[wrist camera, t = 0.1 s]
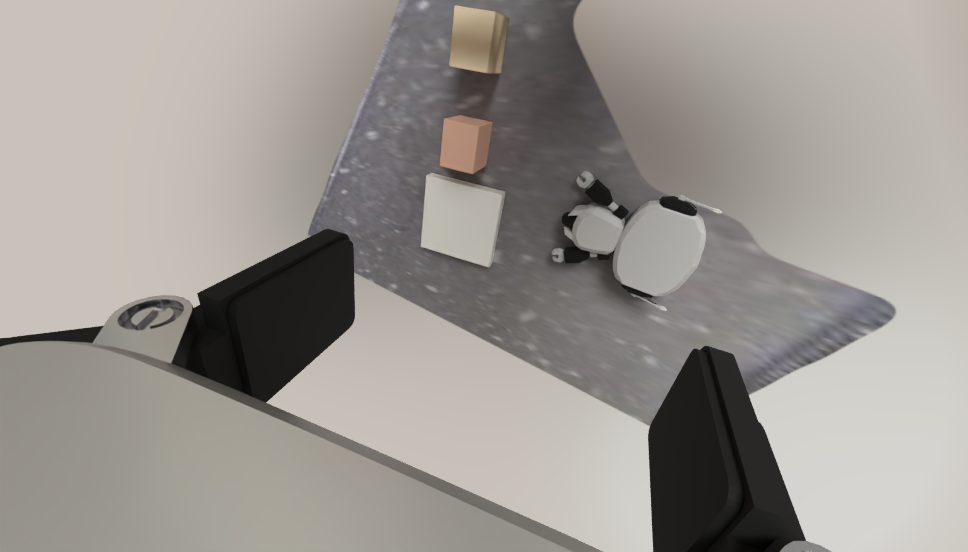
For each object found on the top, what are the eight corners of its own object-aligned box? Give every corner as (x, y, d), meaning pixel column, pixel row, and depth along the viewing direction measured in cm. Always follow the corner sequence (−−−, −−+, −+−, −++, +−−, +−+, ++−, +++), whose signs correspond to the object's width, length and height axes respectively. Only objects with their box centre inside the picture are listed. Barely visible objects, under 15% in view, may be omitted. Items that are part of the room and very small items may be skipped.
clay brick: (460, 115, 45) (444, 118, 41) (493, 122, 44) (479, 126, 40) (455, 158, 47) (439, 165, 43) (486, 165, 47) (472, 174, 43)
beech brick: (472, 12, 40) (454, 5, 36) (509, 18, 39) (495, 11, 35) (466, 66, 42) (449, 65, 38) (500, 73, 42) (486, 73, 37)
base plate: (431, 172, 49) (426, 175, 48) (505, 191, 47) (502, 195, 46) (425, 242, 54) (420, 246, 53) (492, 262, 52) (488, 267, 51)
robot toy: (552, 253, 50) (670, 298, 46) (543, 267, 46) (670, 316, 42) (584, 160, 44) (723, 202, 40) (576, 167, 40) (729, 214, 36)
